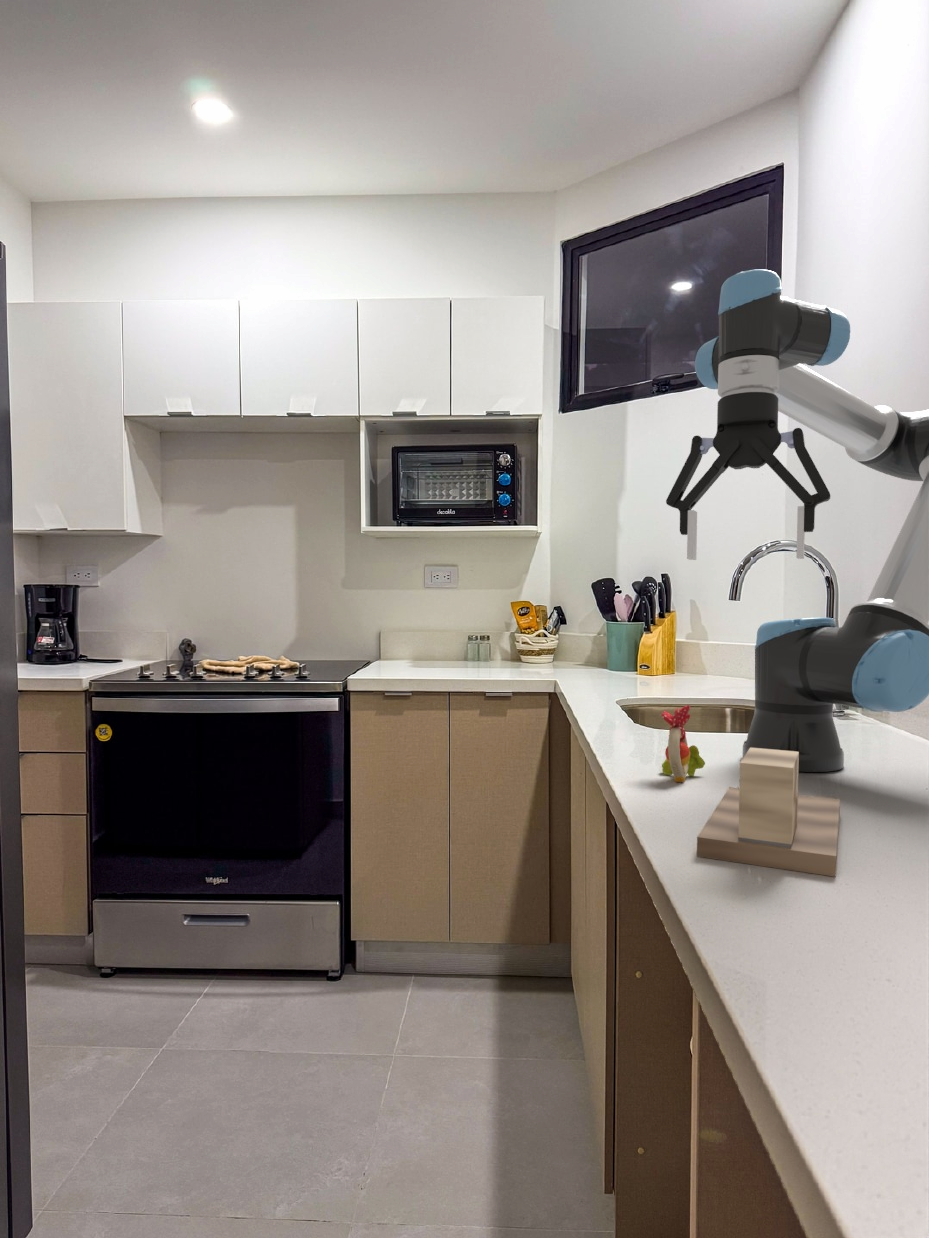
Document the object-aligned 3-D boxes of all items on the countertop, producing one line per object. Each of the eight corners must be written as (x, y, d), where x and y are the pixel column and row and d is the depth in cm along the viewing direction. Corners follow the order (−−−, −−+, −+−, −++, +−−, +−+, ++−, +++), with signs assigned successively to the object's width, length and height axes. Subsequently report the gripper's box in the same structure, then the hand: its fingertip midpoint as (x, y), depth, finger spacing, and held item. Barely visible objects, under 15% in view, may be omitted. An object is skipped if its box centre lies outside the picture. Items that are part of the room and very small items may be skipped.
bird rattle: (702, 798, 114) (706, 761, 122) (700, 732, 110) (705, 698, 117) (657, 794, 116) (664, 758, 124) (654, 729, 112) (661, 696, 120)
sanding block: (748, 818, 89) (750, 747, 89) (797, 824, 87) (798, 751, 87) (738, 840, 81) (739, 762, 81) (791, 848, 79) (793, 767, 79)
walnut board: (729, 802, 104) (729, 786, 104) (839, 815, 98) (839, 798, 98) (696, 856, 82) (697, 836, 82) (835, 876, 77) (836, 855, 77)
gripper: (645, 399, 107) (643, 558, 107) (853, 379, 96) (849, 556, 97) (658, 411, 114) (655, 560, 114) (853, 393, 103) (849, 559, 103)
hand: (744, 559), depth 105 cm, fingers open, 13 cm apart
